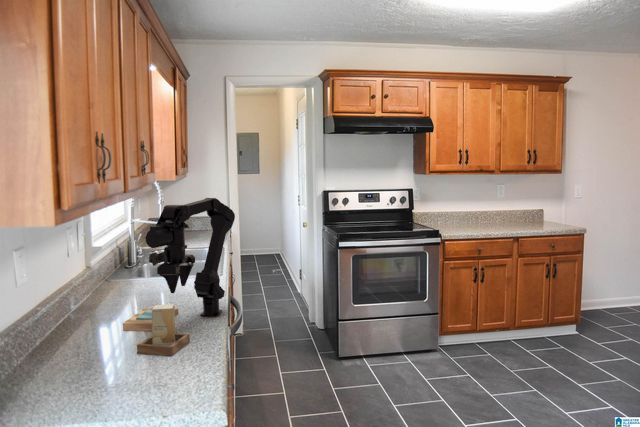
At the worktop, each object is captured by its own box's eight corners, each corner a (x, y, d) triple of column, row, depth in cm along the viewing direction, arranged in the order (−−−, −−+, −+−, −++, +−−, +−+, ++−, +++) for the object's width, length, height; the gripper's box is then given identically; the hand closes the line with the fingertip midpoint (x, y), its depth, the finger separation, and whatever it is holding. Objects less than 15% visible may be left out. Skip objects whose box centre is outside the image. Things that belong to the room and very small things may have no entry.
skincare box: (152, 349, 150) (150, 309, 149) (154, 344, 155) (152, 305, 153) (175, 347, 152) (173, 307, 150) (176, 342, 156) (174, 303, 154)
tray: (157, 339, 160) (156, 332, 159) (189, 342, 157) (189, 334, 157) (137, 353, 149) (136, 344, 149) (171, 355, 146) (171, 347, 146)
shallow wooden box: (146, 313, 187) (146, 304, 186) (178, 314, 185) (178, 305, 185) (123, 330, 169) (122, 320, 169) (157, 331, 168) (157, 321, 167)
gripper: (163, 238, 178) (165, 282, 180) (139, 248, 159) (142, 296, 161) (194, 238, 177) (196, 282, 178) (174, 248, 158) (176, 297, 160)
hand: (178, 289), depth 170 cm, fingers open, 9 cm apart
